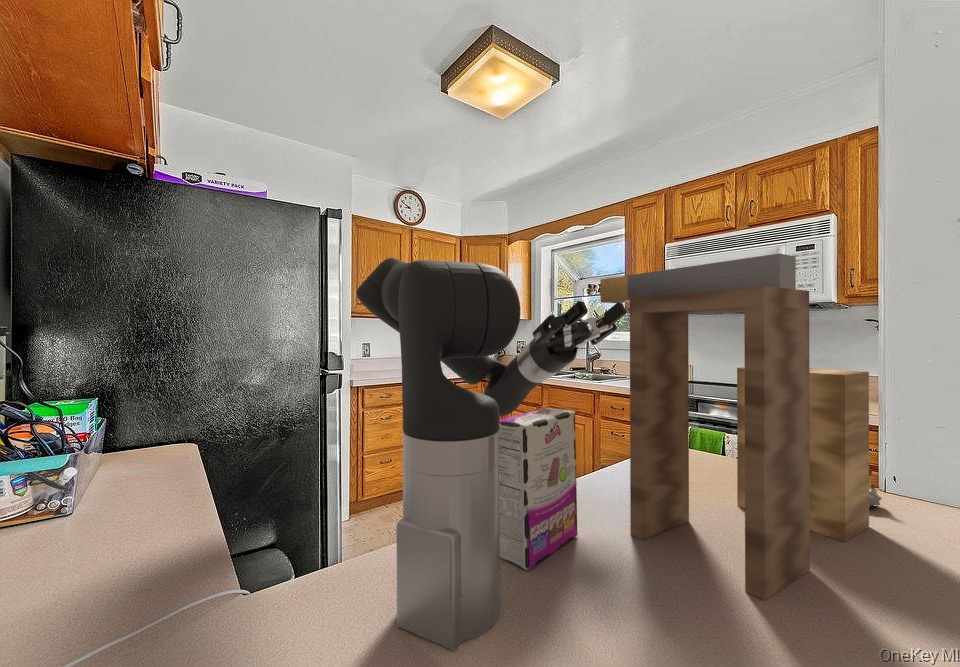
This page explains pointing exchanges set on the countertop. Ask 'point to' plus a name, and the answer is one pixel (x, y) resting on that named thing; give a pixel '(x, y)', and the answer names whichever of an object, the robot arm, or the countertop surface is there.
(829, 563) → the countertop surface
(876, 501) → the figurine
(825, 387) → the oak block
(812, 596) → the countertop surface
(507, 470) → the candy bar box
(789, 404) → the walnut bridge
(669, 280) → the grey and wood bar
